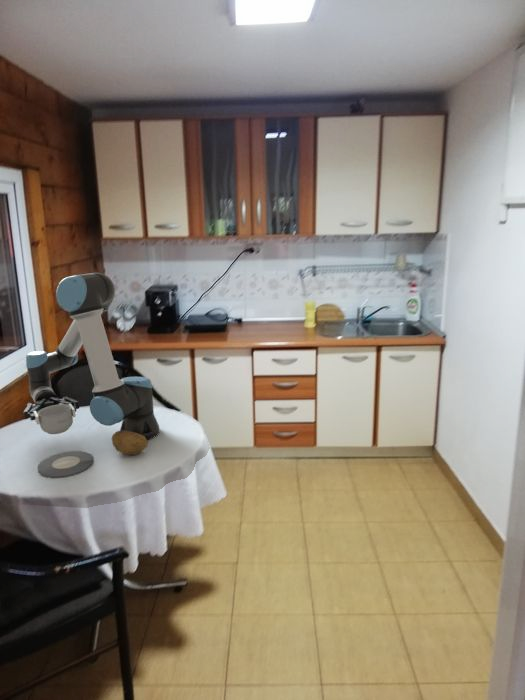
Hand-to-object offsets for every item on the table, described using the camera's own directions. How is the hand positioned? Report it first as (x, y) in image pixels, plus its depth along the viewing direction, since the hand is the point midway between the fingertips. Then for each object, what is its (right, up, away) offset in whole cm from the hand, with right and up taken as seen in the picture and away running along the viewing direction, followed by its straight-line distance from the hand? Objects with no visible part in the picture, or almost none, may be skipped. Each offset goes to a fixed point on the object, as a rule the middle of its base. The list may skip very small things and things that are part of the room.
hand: (56, 416), depth 167 cm
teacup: (-1, -5, +5) cm, 7 cm away
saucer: (+2, -17, +5) cm, 18 cm away
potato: (+22, -15, +13) cm, 30 cm away
